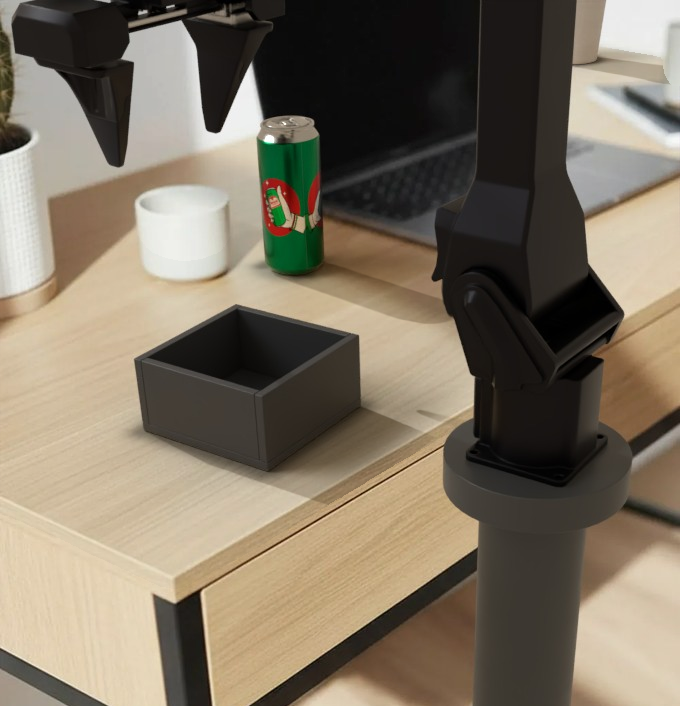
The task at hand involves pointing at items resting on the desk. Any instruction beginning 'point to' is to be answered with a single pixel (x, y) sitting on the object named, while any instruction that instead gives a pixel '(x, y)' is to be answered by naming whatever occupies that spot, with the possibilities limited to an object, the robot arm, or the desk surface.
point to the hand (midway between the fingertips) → (166, 148)
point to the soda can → (291, 194)
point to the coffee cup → (588, 30)
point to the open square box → (249, 385)
